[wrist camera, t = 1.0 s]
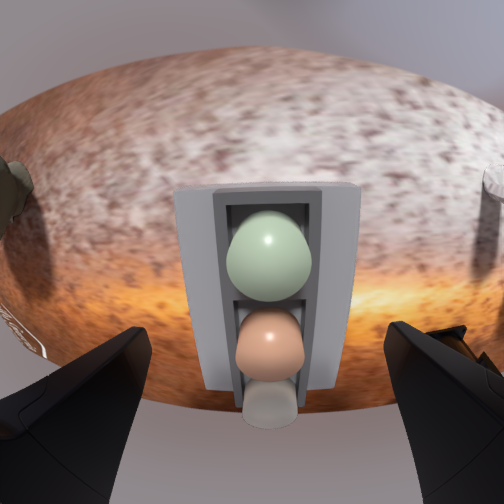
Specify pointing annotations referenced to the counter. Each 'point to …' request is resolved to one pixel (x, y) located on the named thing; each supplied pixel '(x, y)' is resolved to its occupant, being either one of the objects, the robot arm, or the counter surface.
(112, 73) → the counter surface
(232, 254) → the button sage
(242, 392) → the button panel
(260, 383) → the button ivory
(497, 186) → the milkshake
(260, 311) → the button terracotta
